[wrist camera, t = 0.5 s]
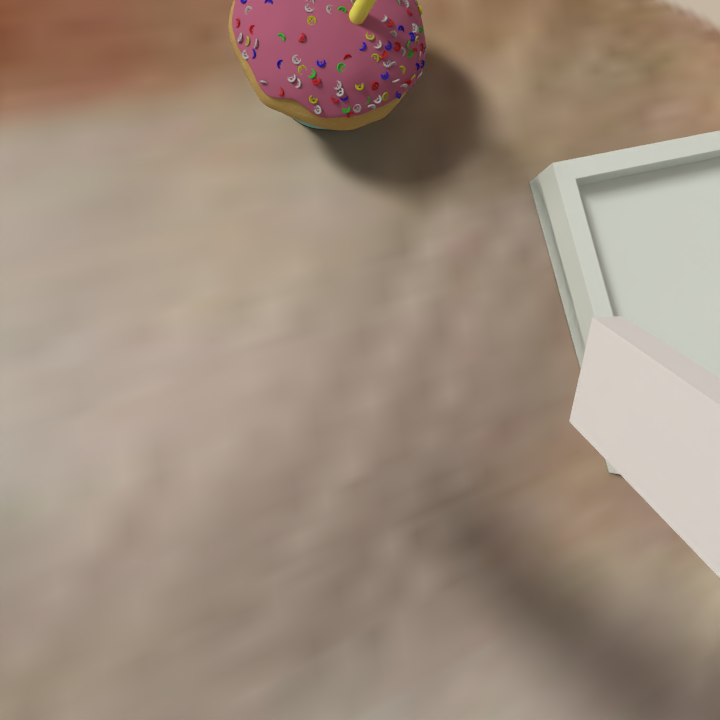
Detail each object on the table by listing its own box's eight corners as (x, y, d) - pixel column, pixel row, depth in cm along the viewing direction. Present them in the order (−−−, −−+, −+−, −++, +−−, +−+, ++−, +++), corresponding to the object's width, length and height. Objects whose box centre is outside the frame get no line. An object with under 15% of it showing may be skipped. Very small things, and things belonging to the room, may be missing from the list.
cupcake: (431, 92, 32) (537, -94, 20) (323, 201, 31) (370, 67, 19) (312, -26, 32) (350, -288, 20) (195, 79, 30) (161, -139, 18)
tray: (822, 405, 35) (865, 404, 32) (608, 472, 32) (638, 477, 30) (744, 139, 36) (781, 118, 33) (529, 181, 33) (552, 163, 30)
